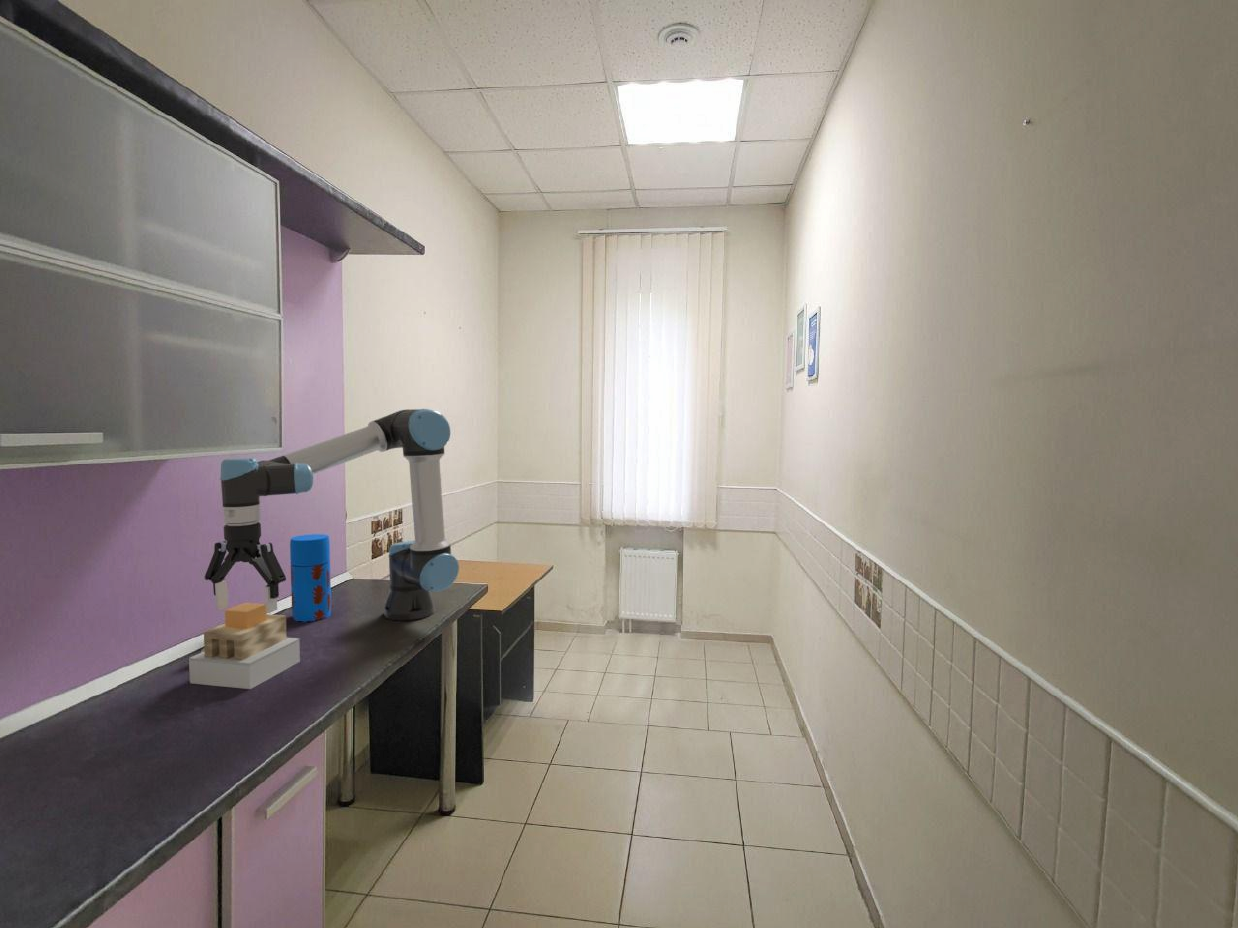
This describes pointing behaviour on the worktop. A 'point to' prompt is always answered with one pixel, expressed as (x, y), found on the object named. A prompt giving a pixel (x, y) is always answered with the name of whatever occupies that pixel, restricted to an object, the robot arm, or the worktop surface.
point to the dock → (244, 666)
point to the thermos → (310, 577)
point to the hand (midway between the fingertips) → (246, 609)
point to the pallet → (244, 638)
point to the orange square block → (245, 615)
